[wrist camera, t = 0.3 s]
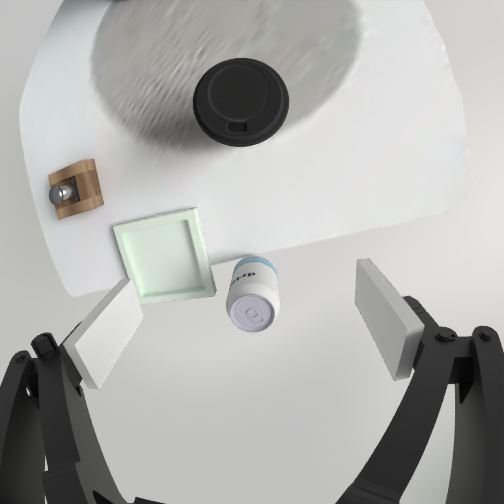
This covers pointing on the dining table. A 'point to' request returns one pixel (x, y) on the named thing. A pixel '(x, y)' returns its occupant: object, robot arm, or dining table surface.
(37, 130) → the dining table surface
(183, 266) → the tray
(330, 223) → the dining table surface
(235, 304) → the beverage can
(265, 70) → the coffee cup
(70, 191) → the grey round-topped rod
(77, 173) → the brown rectangular frame
